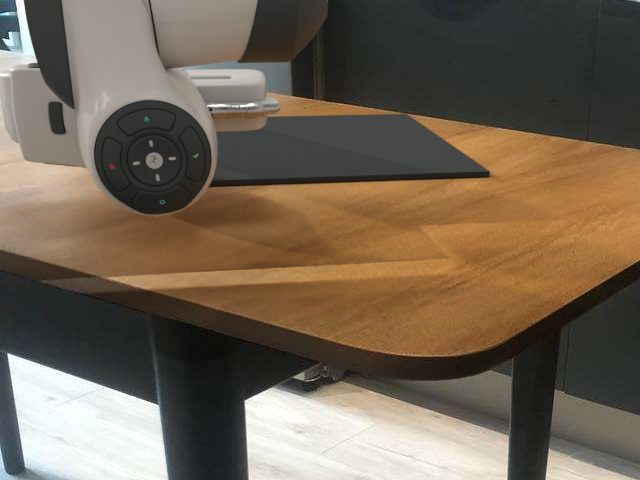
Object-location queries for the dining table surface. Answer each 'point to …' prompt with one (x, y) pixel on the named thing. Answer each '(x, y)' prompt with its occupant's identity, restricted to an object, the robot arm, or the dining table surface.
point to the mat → (338, 151)
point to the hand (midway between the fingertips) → (133, 84)
